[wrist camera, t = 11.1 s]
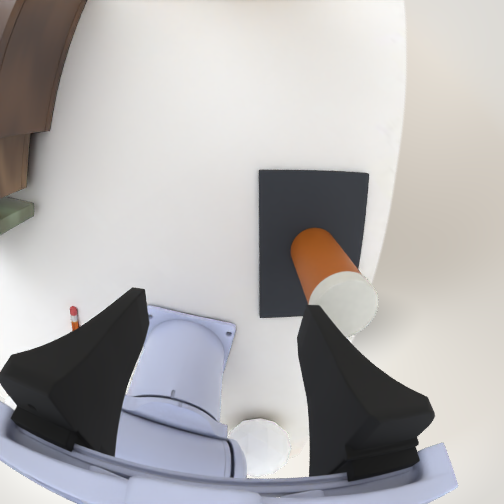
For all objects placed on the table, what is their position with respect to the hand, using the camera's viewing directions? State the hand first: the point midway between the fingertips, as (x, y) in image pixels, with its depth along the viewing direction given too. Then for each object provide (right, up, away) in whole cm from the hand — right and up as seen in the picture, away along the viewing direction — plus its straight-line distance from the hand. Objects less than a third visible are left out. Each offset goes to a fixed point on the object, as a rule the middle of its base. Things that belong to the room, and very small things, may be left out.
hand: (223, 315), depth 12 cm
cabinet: (-19, +20, +1) cm, 28 cm away
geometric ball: (+2, -19, +19) cm, 27 cm away
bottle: (+6, +3, +9) cm, 11 cm away
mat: (+6, +3, +9) cm, 11 cm away
